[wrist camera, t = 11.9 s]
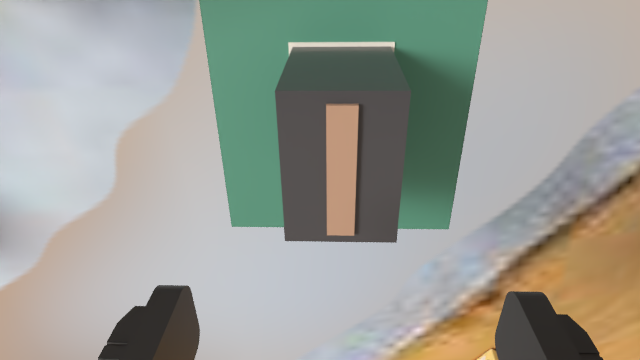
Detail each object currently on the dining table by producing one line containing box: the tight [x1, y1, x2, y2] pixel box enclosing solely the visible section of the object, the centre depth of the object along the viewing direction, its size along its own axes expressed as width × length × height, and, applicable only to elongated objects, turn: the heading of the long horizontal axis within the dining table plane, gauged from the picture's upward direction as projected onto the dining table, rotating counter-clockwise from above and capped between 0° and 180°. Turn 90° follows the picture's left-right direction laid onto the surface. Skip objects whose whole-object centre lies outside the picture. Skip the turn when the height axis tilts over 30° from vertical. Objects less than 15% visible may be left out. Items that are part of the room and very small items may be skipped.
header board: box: [199, 0, 488, 229], centre depth 23 cm, size 16×14×4 cm
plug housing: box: [275, 46, 411, 242], centre depth 20 cm, size 7×5×7 cm
